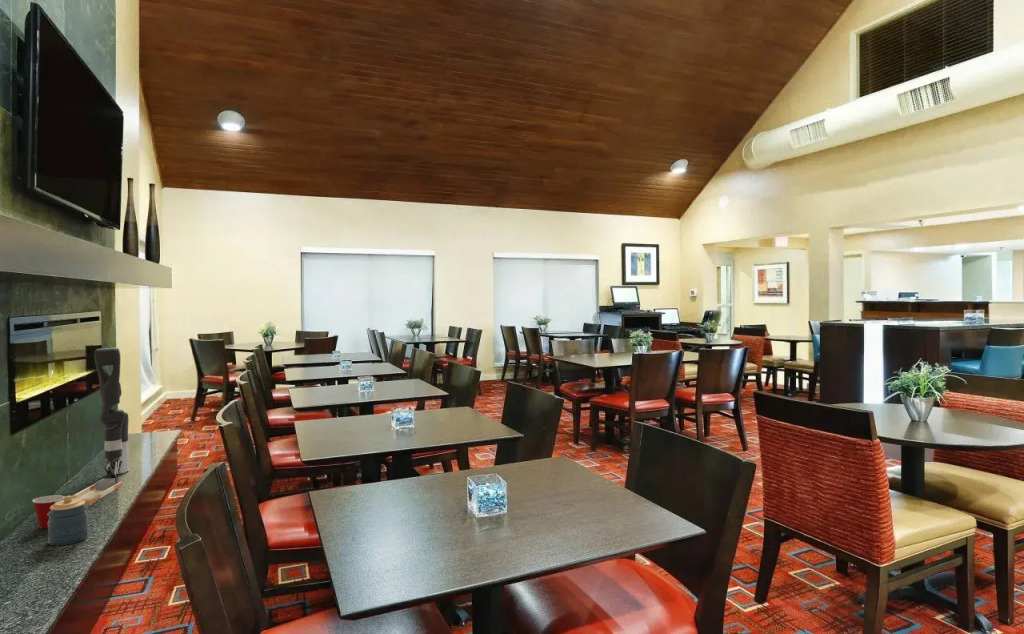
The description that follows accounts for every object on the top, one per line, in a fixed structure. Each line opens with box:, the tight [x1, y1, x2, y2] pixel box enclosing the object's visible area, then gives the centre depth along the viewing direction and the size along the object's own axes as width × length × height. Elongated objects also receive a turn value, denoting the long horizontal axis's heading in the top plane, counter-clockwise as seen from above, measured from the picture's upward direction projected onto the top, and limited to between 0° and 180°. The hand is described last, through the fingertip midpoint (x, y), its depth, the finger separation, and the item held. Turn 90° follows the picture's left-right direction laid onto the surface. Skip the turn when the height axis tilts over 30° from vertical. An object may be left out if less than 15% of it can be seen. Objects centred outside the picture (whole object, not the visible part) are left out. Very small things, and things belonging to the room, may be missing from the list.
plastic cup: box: [31, 494, 66, 529], centre depth 246 cm, size 11×11×12 cm
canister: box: [47, 495, 90, 546], centre depth 232 cm, size 13×13×18 cm
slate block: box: [95, 477, 116, 490], centre depth 294 cm, size 6×6×4 cm
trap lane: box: [70, 481, 124, 507], centre depth 284 cm, size 29×12×2 cm, turn 8°
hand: (113, 481), depth 302 cm, fingers closed
